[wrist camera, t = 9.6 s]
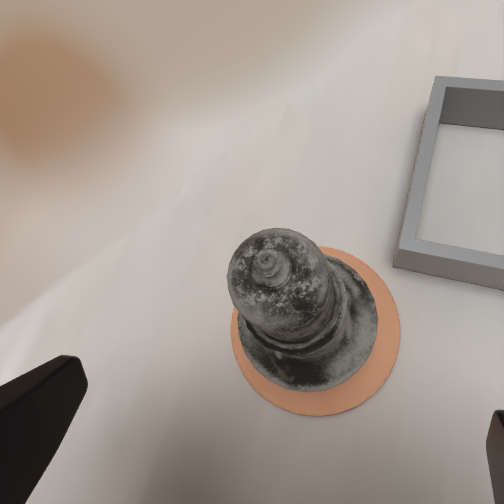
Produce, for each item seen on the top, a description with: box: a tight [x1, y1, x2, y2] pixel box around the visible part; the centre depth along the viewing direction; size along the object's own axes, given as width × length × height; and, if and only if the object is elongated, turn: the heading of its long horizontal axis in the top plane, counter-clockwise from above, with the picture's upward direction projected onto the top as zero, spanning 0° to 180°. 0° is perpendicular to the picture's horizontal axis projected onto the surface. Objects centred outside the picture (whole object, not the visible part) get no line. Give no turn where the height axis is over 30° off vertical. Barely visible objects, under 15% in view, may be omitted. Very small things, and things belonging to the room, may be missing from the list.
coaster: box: [231, 247, 400, 416], centre depth 21 cm, size 8×8×1 cm
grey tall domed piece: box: [227, 228, 378, 392], centre depth 15 cm, size 6×6×12 cm
